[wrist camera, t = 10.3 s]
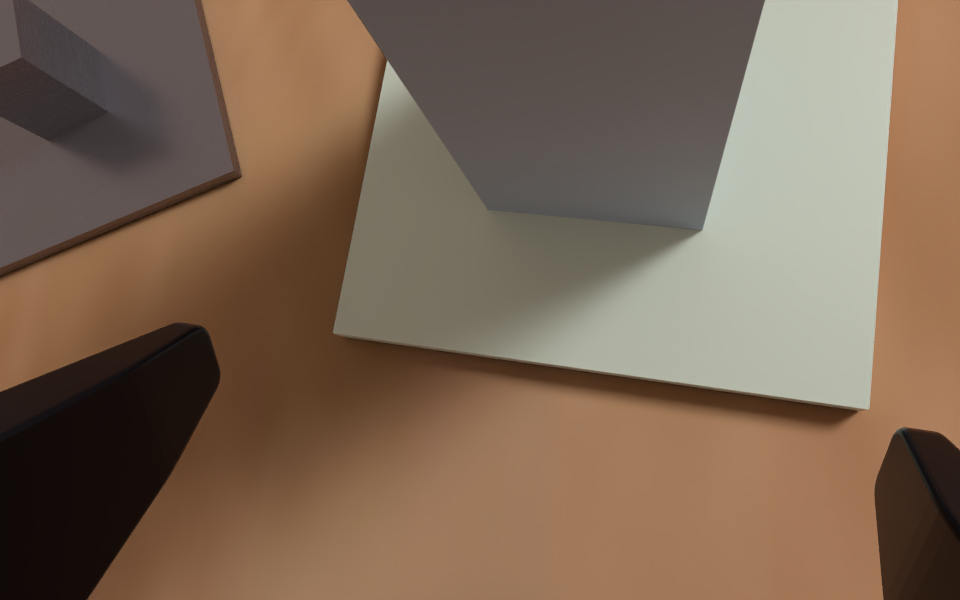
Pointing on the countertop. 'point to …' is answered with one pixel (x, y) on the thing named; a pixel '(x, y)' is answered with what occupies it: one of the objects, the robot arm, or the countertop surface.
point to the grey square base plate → (103, 118)
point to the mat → (660, 238)
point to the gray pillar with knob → (576, 98)
